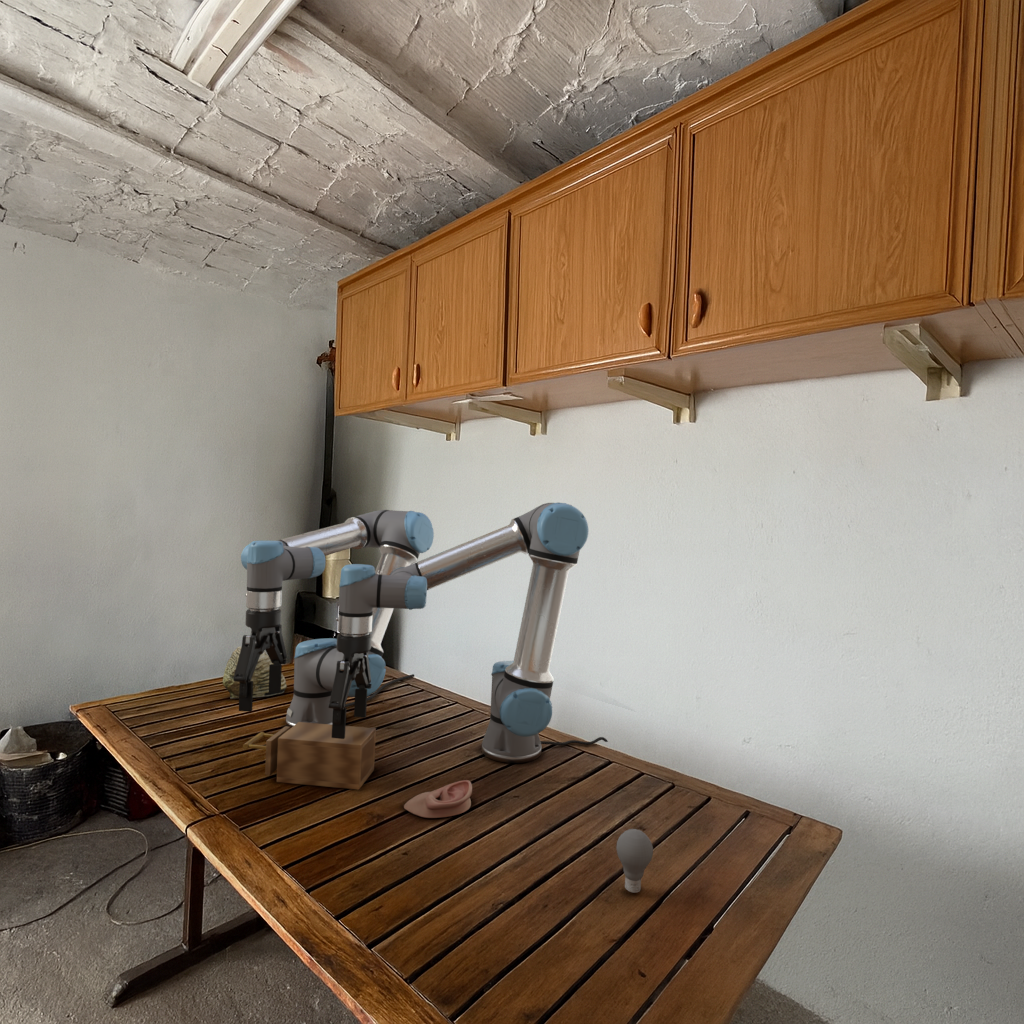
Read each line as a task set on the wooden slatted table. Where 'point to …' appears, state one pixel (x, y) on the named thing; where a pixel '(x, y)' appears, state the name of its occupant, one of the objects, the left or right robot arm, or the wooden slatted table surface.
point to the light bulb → (634, 857)
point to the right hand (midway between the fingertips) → (349, 727)
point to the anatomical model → (442, 801)
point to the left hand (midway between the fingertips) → (260, 701)
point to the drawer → (268, 748)
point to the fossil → (258, 678)
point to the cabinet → (326, 756)
